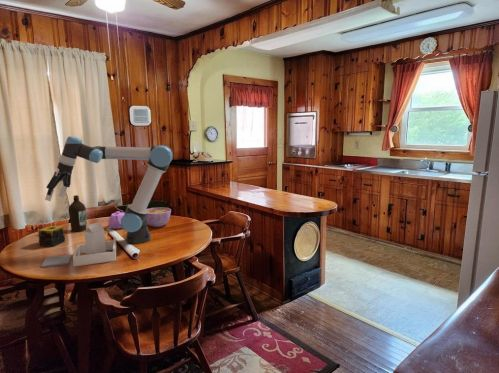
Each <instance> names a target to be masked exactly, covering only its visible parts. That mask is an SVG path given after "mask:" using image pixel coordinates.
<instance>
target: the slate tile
mask: <svg viewBox="0 0 499 373" xmlns="http://www.w3.org/2000/svg"><path fill="white" fill-rule="evenodd" d="M71 259H72V254H64V255H58V256H56V255H55V256H49V257H46V258H45V259H44V260H43V262H42V263H41V266H40V268H42V269H43V268H51V267H57V266H59V267H60V266H67V265H69V264H70V261H71Z"/></svg>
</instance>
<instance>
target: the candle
mask: <svg viewBox="0 0 499 373" xmlns="http://www.w3.org/2000/svg"><path fill="white" fill-rule="evenodd" d="M64 230H65V228H64V226H59V225H49V226H46V227H43V228H40V229H37V234H38V245H39V246H40V247H51V248H52V247H56V246H58V245H61V244H63V243H65V242H66V238H65V231H64Z"/></svg>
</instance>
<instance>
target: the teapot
mask: <svg viewBox="0 0 499 373" xmlns="http://www.w3.org/2000/svg"><path fill="white" fill-rule="evenodd" d="M124 214H125V212H123V211H122V212H121V211H119V210H118V211H115V212H113V213H111V215H110V217H109V219H108V226H109V228H110V227H111V228H110V229H112V228H113V229H112V230H116V229H117V230H118V229H123V228H122V226H121V218H122V217H123V215H124Z"/></svg>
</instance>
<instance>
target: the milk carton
mask: <svg viewBox="0 0 499 373" xmlns="http://www.w3.org/2000/svg"><path fill="white" fill-rule="evenodd" d="M83 233H84V244H85V245H86V253H85V255H89V254H97V253H105V252H107V250H106V245H105V242H106V235H105V234H106V233H105V229H104V228H103V226H102V225H101V224H100V221H98V222H95V223H91V224H88V225H87V227H86V230H85V231H83Z"/></svg>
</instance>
